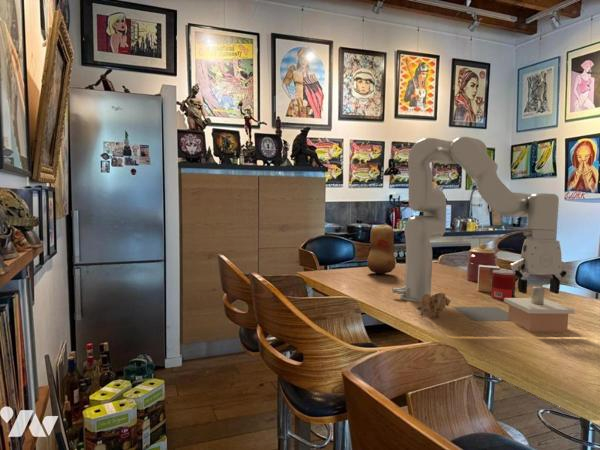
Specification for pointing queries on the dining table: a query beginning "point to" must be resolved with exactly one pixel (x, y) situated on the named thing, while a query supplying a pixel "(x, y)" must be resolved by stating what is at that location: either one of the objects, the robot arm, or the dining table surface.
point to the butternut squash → (381, 250)
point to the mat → (484, 313)
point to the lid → (538, 303)
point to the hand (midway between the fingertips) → (538, 292)
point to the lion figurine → (434, 303)
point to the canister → (479, 261)
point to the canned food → (503, 284)
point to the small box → (485, 277)
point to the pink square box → (538, 320)
